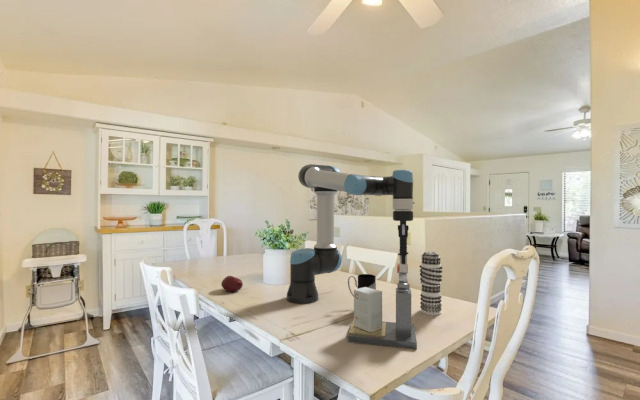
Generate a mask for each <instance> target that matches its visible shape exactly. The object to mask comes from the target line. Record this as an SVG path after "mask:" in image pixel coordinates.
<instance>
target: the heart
mask: <svg viewBox="0 0 640 400" xmlns="http://www.w3.org/2000/svg"><path fill="white" fill-rule="evenodd" d="M222 279H223V280H221V288H222V289H224V290H225V291H226V292H229V293H235V291H236V292H238V291H240V290H241V289H242V288H243V286H244V285H243V284H244V283H243V280H241V278H238V277H235V276H232V275H227V276H226V277H224V278H222Z"/></svg>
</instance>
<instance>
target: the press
mask: <svg viewBox="0 0 640 400" xmlns="http://www.w3.org/2000/svg"><path fill="white" fill-rule="evenodd" d="M416 335H417V334H416V327H415V324H414V323H412V290H411V288H410V290H397V287H396V288H395V322H392V321H383V320H382V328H381V329H379V330H376V331H374V332H371V333H370V332H368V331H365V330H363V329H360V328H358V327H356V326H354V319H353V320H352V323H351V325H350V327H349V330H348V335H347V342H348V343H352V342H353V344H365V345H372V346H373V345H374V346H382V347H391V348H400V349H401V348H403V349H410V350H411V349H412V350H417V349H418V342H417V336H416Z"/></svg>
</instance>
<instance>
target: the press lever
mask: <svg viewBox="0 0 640 400" xmlns="http://www.w3.org/2000/svg"><path fill="white" fill-rule="evenodd" d="M408 265H409V264H408V263H407V273H404V272H400V263H397V264H396V273H397V274H398V282H397V284H396V285H397V287H396V288H397V290H410V289H411V288H410V283H408V274H409V272H408V269H409V266H408Z"/></svg>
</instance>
